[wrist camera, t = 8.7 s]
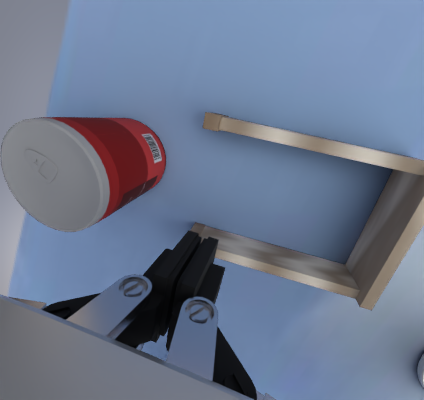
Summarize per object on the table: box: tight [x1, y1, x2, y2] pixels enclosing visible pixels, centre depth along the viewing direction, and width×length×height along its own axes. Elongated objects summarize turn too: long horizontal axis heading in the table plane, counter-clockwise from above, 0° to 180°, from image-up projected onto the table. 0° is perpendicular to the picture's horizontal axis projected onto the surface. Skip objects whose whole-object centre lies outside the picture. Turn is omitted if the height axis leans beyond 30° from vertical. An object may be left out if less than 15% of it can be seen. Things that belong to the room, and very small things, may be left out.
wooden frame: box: [190, 112, 424, 310], centre depth 21 cm, size 18×13×5 cm
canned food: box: [0, 117, 166, 232], centre depth 20 cm, size 8×8×11 cm
